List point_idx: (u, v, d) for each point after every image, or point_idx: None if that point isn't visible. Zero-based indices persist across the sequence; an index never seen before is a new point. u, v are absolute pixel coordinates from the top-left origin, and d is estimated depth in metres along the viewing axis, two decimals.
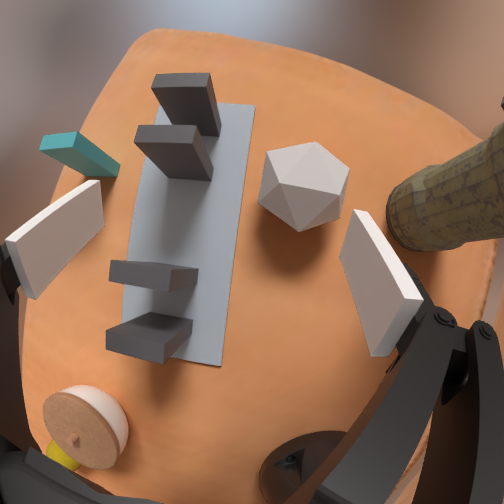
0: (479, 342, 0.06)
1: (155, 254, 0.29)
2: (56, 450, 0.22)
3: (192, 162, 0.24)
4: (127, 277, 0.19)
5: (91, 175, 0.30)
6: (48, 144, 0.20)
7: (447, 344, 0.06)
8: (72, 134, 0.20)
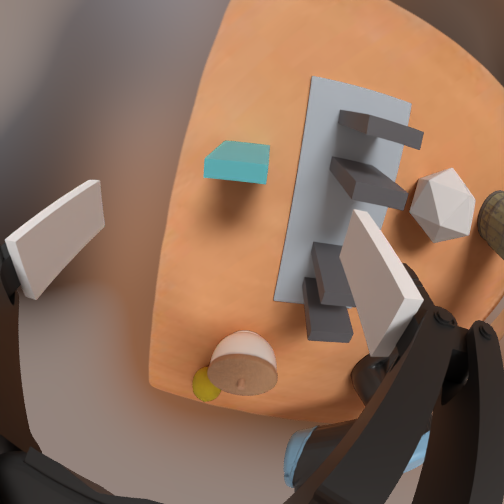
0: (479, 342, 0.06)
1: (314, 235, 0.34)
2: (207, 387, 0.44)
3: None
4: (337, 301, 0.27)
5: None
6: (219, 172, 0.21)
7: (447, 344, 0.06)
8: (260, 167, 0.21)
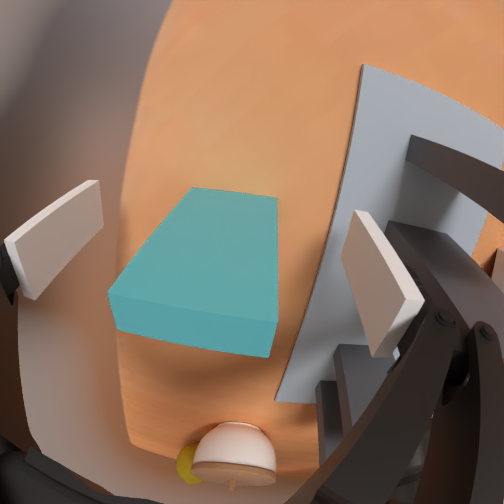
0: (480, 343, 0.06)
1: (341, 336, 0.21)
2: None
3: None
4: None
5: None
6: (150, 327, 0.08)
7: (448, 345, 0.06)
8: (256, 326, 0.07)
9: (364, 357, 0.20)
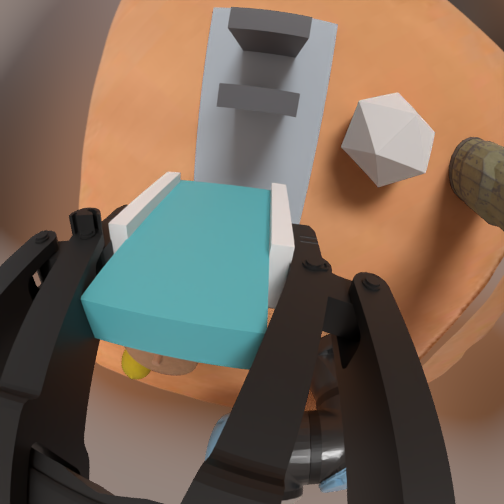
0: (364, 296, 0.07)
1: (225, 182, 0.29)
2: (133, 363, 0.39)
3: None
4: None
5: None
6: (127, 336, 0.07)
7: (322, 287, 0.07)
8: (242, 338, 0.06)
9: None
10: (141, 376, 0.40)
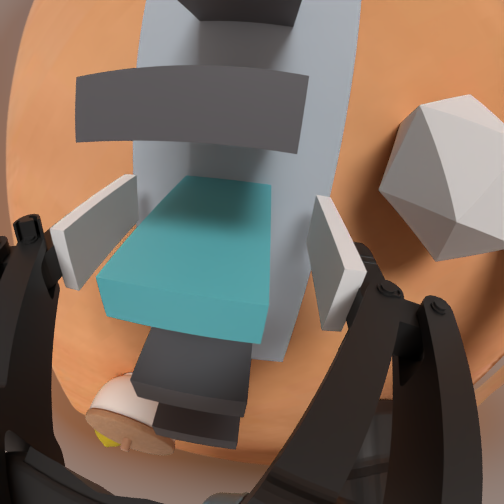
0: (432, 318, 0.07)
1: None
2: None
3: None
4: (168, 399, 0.11)
5: None
6: (139, 312, 0.08)
7: (394, 314, 0.07)
8: (246, 310, 0.07)
9: None
10: (117, 444, 0.29)
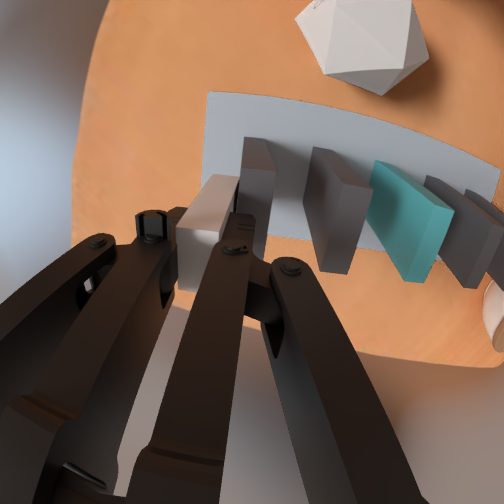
0: (284, 282, 0.07)
1: None
2: None
3: None
4: (482, 269, 0.14)
5: None
6: (425, 265, 0.14)
7: (242, 269, 0.08)
8: (435, 215, 0.12)
9: None
10: None
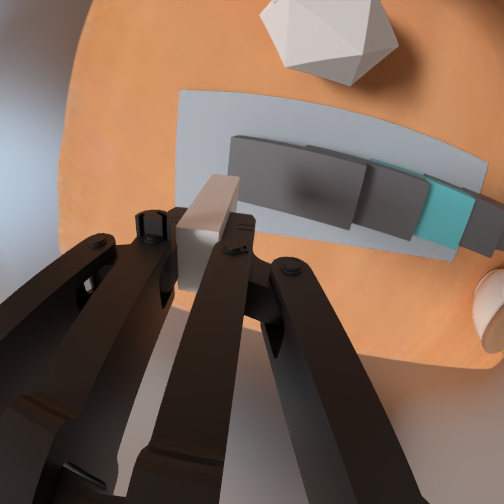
0: (283, 282, 0.07)
1: None
2: None
3: None
4: None
5: None
6: None
7: (242, 269, 0.08)
8: None
9: None
10: None
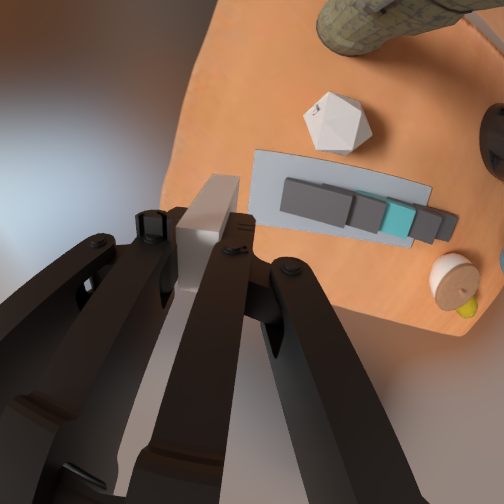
0: (283, 282, 0.07)
1: None
2: (464, 308, 0.45)
3: None
4: None
5: None
6: None
7: (242, 269, 0.08)
8: (414, 213, 0.37)
9: None
10: (475, 306, 0.43)
